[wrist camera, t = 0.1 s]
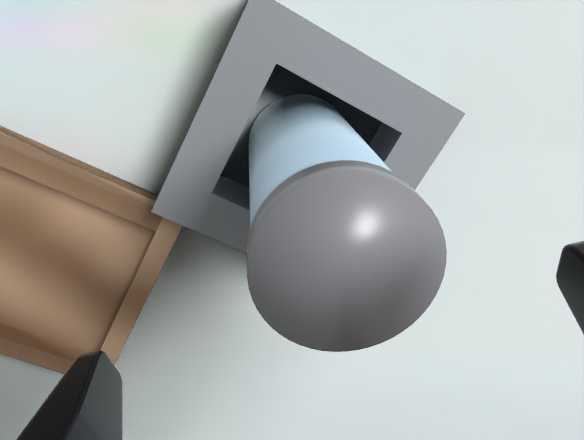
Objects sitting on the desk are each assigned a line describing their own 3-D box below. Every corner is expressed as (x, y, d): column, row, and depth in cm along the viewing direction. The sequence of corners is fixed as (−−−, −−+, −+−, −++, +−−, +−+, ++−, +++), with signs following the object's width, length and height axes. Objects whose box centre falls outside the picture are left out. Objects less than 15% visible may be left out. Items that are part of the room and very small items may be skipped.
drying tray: (111, 364, 28) (103, 386, 26) (-93, 296, 25) (-116, 316, 24) (188, 208, 25) (184, 222, 23) (-39, 108, 22) (-62, 117, 20)
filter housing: (335, 266, 27) (345, 295, 24) (161, 188, 24) (150, 211, 21) (439, 101, 24) (465, 113, 21) (253, -9, 21) (254, -12, 18)
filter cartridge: (318, 210, 25) (377, 374, 14) (228, 167, 24) (213, 311, 13) (370, 123, 24) (485, 228, 12) (276, 72, 22) (309, 136, 11)
